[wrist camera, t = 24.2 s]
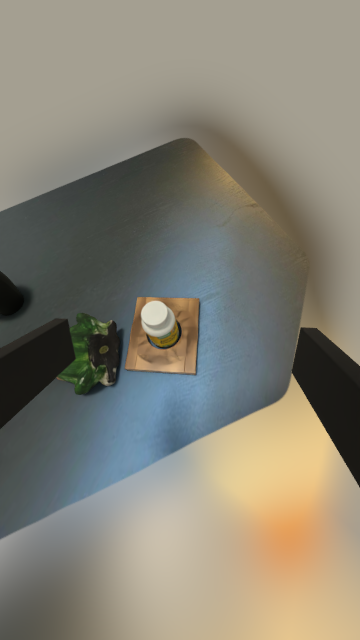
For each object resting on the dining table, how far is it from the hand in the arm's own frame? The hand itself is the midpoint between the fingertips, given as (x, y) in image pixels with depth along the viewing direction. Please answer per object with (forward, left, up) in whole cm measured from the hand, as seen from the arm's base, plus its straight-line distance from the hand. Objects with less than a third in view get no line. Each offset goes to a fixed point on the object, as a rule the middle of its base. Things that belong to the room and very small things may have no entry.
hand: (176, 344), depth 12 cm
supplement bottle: (+6, -10, -26) cm, 28 cm away
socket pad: (+6, -10, -26) cm, 28 cm away
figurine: (+21, -5, -26) cm, 34 cm away
